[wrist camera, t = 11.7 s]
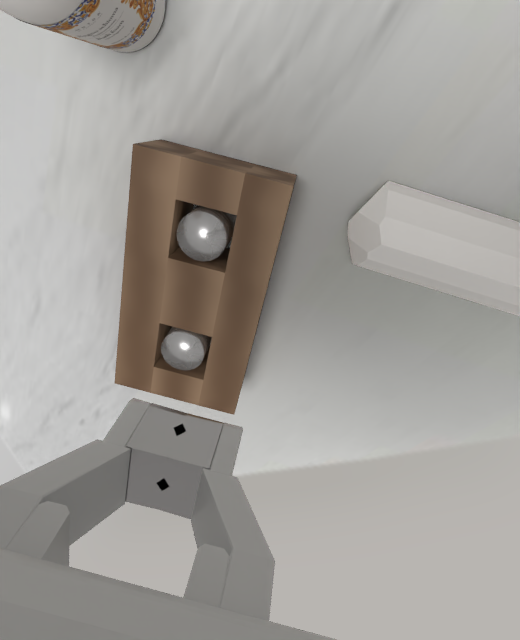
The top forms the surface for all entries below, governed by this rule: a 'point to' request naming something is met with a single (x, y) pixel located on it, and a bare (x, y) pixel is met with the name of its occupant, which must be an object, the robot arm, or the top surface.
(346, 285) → the top surface
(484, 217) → the crystal
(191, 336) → the peg
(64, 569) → the robot arm
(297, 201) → the top surface
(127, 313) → the brown wooden block
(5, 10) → the bath foam
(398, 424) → the top surface
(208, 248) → the peg
